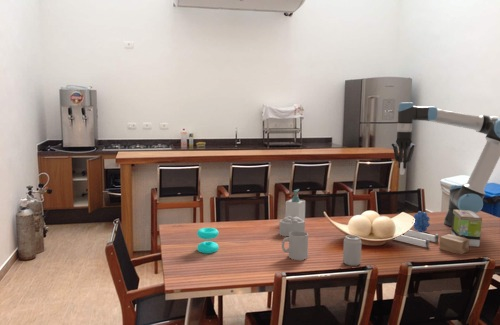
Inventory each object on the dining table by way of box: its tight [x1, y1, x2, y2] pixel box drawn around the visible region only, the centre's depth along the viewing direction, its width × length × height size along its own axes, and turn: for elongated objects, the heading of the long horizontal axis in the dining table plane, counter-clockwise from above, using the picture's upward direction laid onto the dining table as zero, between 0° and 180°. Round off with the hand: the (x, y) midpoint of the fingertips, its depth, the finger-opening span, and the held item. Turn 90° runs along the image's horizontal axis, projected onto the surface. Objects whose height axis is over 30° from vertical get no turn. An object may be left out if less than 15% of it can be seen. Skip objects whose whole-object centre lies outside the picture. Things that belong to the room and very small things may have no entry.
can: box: [342, 234, 363, 267], centre depth 184 cm, size 8×8×12 cm
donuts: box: [196, 227, 220, 254], centre depth 200 cm, size 10×10×10 cm
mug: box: [281, 231, 309, 261], centre depth 191 cm, size 12×8×11 cm
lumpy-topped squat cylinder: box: [278, 216, 306, 237], centre depth 226 cm, size 10×13×9 cm
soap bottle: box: [284, 188, 306, 222], centre depth 246 cm, size 9×9×19 cm
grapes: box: [413, 210, 430, 233], centre depth 228 cm, size 12×7×12 cm, turn 114°
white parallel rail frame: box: [393, 229, 440, 249], centre depth 216 cm, size 12×18×4 cm
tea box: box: [450, 210, 483, 247], centre depth 215 cm, size 15×10×15 cm, turn 168°
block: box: [438, 233, 470, 255], centre depth 203 cm, size 8×10×6 cm
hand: (402, 174), depth 235 cm, fingers closed
